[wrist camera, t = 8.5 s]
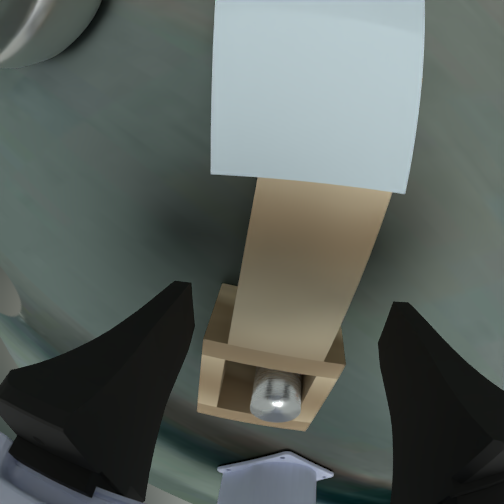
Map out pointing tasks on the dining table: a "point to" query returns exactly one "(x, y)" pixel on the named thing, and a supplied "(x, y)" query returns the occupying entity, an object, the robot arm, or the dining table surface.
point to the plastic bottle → (40, 28)
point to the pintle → (276, 395)
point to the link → (289, 295)
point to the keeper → (317, 90)
